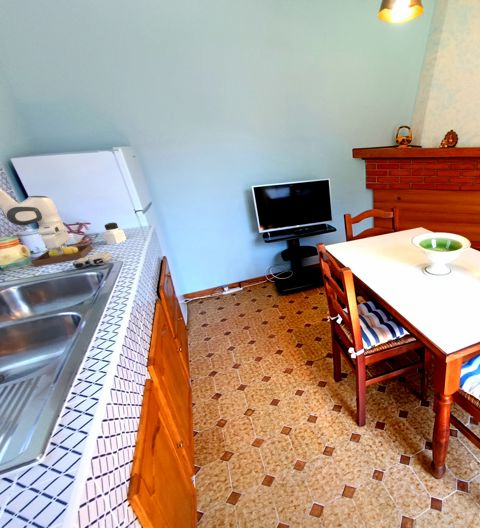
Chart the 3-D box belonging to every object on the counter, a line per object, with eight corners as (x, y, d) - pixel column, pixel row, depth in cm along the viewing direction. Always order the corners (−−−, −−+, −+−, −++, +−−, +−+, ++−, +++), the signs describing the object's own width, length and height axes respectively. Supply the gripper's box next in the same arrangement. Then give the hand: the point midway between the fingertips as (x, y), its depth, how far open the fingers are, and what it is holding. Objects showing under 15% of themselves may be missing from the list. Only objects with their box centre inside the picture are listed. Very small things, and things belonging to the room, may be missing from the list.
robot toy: (72, 274, 139) (110, 264, 144) (67, 265, 137) (106, 256, 143) (79, 265, 149) (115, 257, 154) (75, 257, 147) (111, 249, 153)
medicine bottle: (127, 240, 185) (120, 221, 180) (117, 244, 179) (110, 224, 174) (117, 240, 186) (110, 221, 181) (107, 244, 180) (99, 225, 175)
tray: (34, 266, 148) (31, 261, 147) (49, 255, 164) (47, 250, 163) (82, 259, 156) (80, 253, 155) (92, 249, 172) (90, 244, 171)
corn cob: (49, 258, 156) (45, 251, 154) (52, 256, 159) (48, 249, 157) (78, 254, 160) (75, 246, 159) (80, 251, 164) (77, 245, 162)
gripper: (52, 224, 161) (63, 248, 166) (35, 232, 144) (48, 259, 149) (67, 222, 164) (77, 246, 169) (52, 230, 147) (64, 256, 152)
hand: (63, 252), depth 159 cm, fingers closed on corn cob, 4 cm apart
